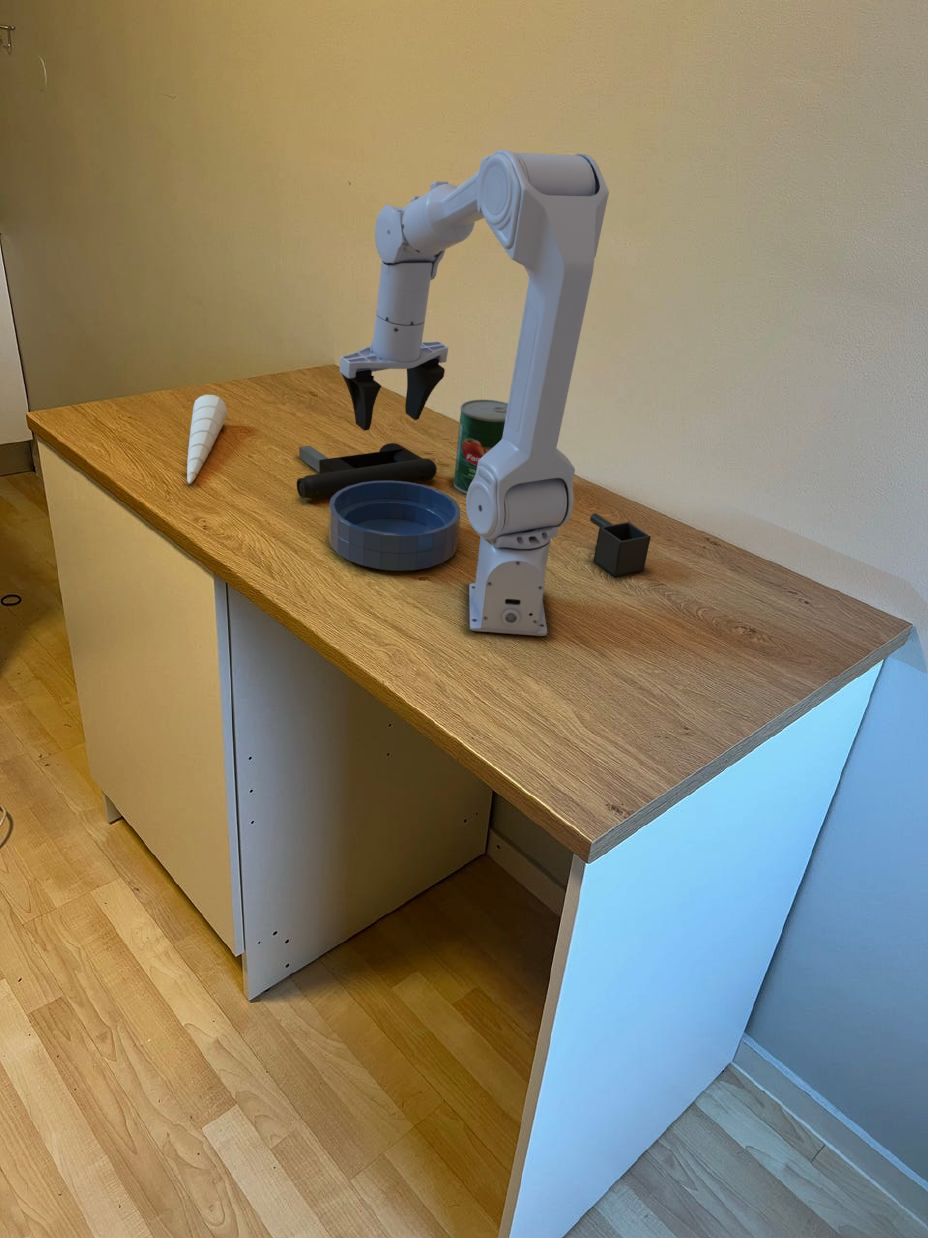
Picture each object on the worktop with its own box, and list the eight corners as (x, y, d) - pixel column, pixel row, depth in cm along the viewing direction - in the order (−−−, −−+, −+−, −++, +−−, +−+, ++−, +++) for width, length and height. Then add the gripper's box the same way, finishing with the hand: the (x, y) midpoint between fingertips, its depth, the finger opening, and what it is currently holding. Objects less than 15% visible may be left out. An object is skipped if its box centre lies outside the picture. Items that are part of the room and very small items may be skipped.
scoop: (643, 571, 111) (651, 536, 109) (614, 577, 109) (621, 542, 107) (602, 542, 117) (609, 509, 114) (574, 548, 115) (580, 514, 112)
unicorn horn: (159, 485, 119) (156, 449, 117) (196, 423, 140) (194, 391, 137) (197, 487, 120) (195, 452, 117) (228, 425, 140) (227, 394, 138)
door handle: (259, 446, 127) (308, 483, 116) (388, 430, 137) (445, 463, 126) (260, 469, 129) (308, 508, 117) (387, 452, 139) (444, 486, 127)
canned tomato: (468, 500, 124) (476, 420, 118) (444, 477, 130) (450, 400, 124) (520, 494, 127) (530, 417, 122) (494, 472, 133) (503, 397, 128)
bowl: (456, 580, 105) (460, 540, 102) (321, 569, 104) (321, 529, 102) (457, 522, 118) (460, 485, 115) (336, 512, 117) (337, 475, 115)
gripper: (429, 296, 115) (415, 398, 123) (329, 308, 106) (321, 416, 115) (464, 319, 111) (447, 422, 119) (363, 333, 103) (352, 443, 111)
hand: (387, 421), depth 117 cm, fingers open, 7 cm apart
